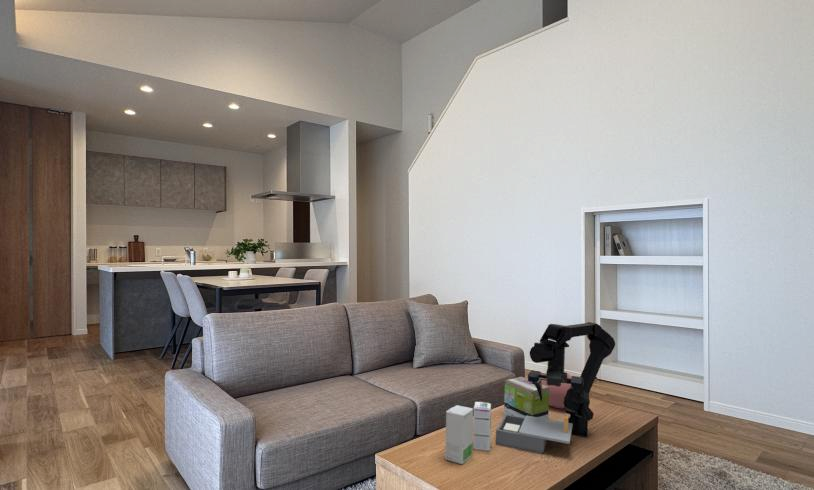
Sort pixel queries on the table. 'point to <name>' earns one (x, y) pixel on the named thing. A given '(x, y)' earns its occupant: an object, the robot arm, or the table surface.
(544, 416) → the tea box
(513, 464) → the table surface
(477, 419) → the syrup box
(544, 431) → the lid
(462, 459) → the skincare box
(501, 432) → the grey flat block
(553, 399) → the balloon
